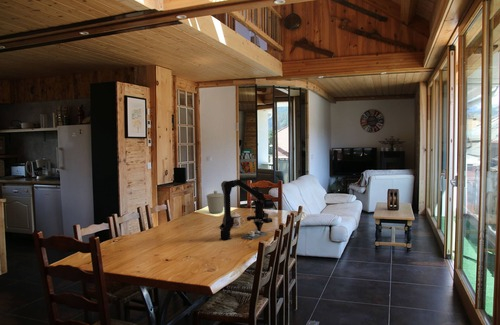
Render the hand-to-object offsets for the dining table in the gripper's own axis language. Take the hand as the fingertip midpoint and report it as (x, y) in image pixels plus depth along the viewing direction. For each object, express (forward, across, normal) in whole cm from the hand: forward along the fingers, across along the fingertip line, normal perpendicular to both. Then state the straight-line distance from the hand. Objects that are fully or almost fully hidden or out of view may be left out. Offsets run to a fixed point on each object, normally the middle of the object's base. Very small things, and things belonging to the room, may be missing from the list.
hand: (259, 231), depth 273 cm
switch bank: (+3, +1, +5) cm, 6 cm away
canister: (+3, +89, -50) cm, 102 cm away
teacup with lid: (+3, +31, -12) cm, 33 cm away
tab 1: (+1, -1, +10) cm, 10 cm away
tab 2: (+1, +2, 0) cm, 3 cm away
